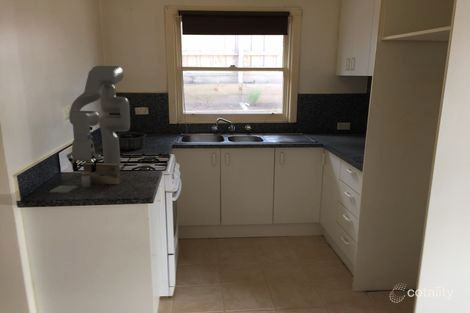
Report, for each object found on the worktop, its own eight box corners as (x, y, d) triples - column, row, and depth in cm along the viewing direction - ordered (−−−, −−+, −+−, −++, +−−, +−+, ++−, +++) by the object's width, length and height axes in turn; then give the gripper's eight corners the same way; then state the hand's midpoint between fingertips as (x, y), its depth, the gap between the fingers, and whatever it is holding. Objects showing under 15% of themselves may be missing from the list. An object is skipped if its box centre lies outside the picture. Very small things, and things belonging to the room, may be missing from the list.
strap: (110, 170, 186) (110, 168, 186) (114, 170, 186) (114, 168, 185) (99, 175, 175) (99, 173, 175) (104, 176, 175) (104, 174, 175)
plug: (84, 184, 186) (83, 171, 184) (92, 185, 185) (91, 172, 184) (80, 187, 182) (79, 173, 181) (88, 187, 182) (87, 174, 180)
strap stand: (87, 181, 192) (86, 162, 190) (120, 182, 190) (118, 164, 188) (84, 182, 190) (83, 164, 187) (117, 184, 187) (116, 165, 185)
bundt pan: (141, 151, 267) (141, 138, 265) (106, 151, 267) (105, 137, 265) (150, 145, 292) (150, 132, 290) (118, 144, 293) (117, 132, 291)
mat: (60, 186, 183) (60, 185, 183) (77, 187, 182) (77, 186, 182) (49, 192, 174) (49, 190, 174) (67, 193, 173) (67, 191, 173)
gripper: (102, 137, 181) (104, 170, 184) (69, 136, 183) (72, 169, 186) (95, 139, 173) (97, 174, 177) (61, 138, 175) (64, 172, 179)
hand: (84, 171), depth 181 cm, fingers open, 9 cm apart
